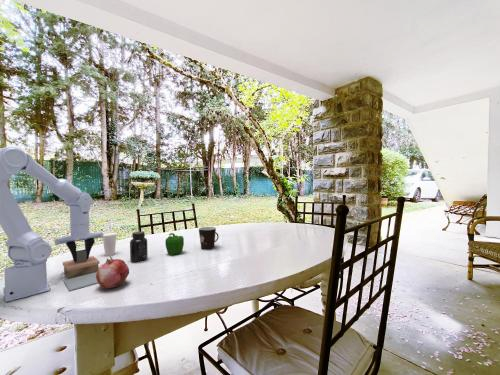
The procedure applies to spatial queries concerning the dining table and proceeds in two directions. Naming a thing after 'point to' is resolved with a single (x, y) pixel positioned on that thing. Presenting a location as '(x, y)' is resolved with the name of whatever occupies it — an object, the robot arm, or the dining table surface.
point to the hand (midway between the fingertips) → (81, 260)
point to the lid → (80, 261)
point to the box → (81, 271)
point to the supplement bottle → (138, 247)
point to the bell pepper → (174, 244)
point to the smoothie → (109, 243)
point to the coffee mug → (207, 237)
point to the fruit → (112, 273)
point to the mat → (81, 281)
